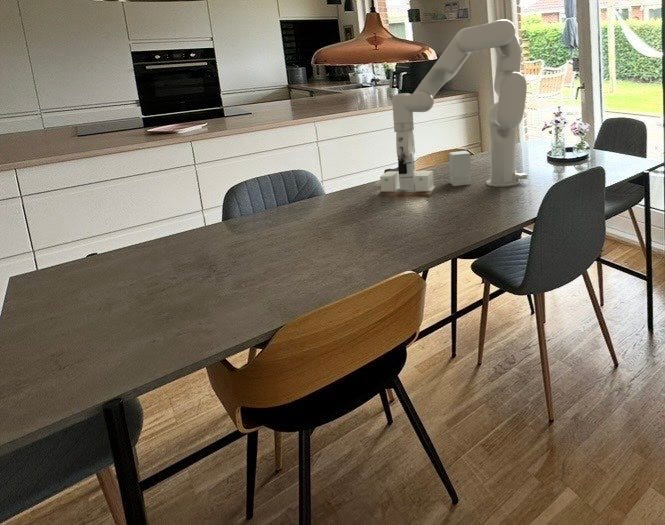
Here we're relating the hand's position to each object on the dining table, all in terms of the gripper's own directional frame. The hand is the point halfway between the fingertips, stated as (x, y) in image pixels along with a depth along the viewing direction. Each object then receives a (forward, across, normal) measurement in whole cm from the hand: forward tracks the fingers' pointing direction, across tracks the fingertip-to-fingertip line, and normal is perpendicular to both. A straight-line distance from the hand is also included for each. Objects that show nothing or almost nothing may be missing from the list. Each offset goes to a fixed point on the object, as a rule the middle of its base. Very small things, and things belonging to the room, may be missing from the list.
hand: (406, 171), depth 223 cm
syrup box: (+7, 0, 0) cm, 7 cm away
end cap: (+9, +17, +9) cm, 21 cm away
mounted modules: (+7, 0, 0) cm, 7 cm away
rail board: (+9, 0, 0) cm, 9 cm away
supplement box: (+9, +15, -18) cm, 25 cm away
